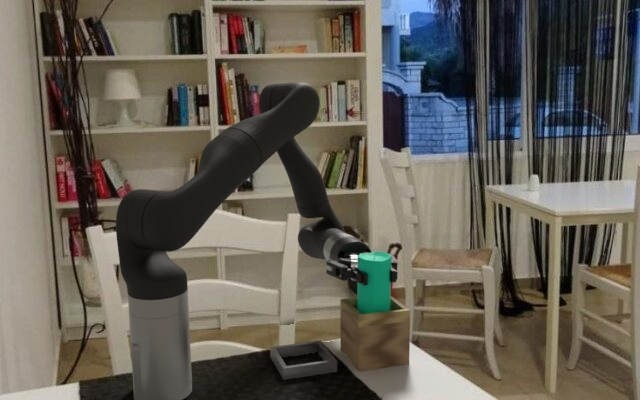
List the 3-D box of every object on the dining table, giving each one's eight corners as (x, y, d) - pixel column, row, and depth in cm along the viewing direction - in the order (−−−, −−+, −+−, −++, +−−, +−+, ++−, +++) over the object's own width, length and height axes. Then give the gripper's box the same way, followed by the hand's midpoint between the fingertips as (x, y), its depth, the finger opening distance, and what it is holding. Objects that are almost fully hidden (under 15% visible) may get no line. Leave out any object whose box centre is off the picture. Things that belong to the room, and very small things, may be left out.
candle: (390, 306, 117) (391, 243, 114) (390, 318, 111) (391, 252, 109) (357, 305, 117) (358, 242, 115) (356, 316, 111) (357, 251, 109)
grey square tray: (283, 379, 106) (283, 368, 106) (270, 357, 115) (270, 347, 115) (337, 371, 109) (337, 360, 109) (320, 350, 118) (320, 340, 118)
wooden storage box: (359, 371, 109) (359, 316, 108) (340, 350, 118) (340, 299, 117) (409, 363, 112) (410, 310, 111) (387, 343, 121) (387, 293, 120)
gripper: (312, 238, 123) (342, 261, 107) (379, 233, 128) (417, 254, 112) (312, 275, 125) (342, 303, 109) (379, 269, 129) (416, 294, 113)
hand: (380, 278), depth 110 cm, fingers closed on candle, 4 cm apart
